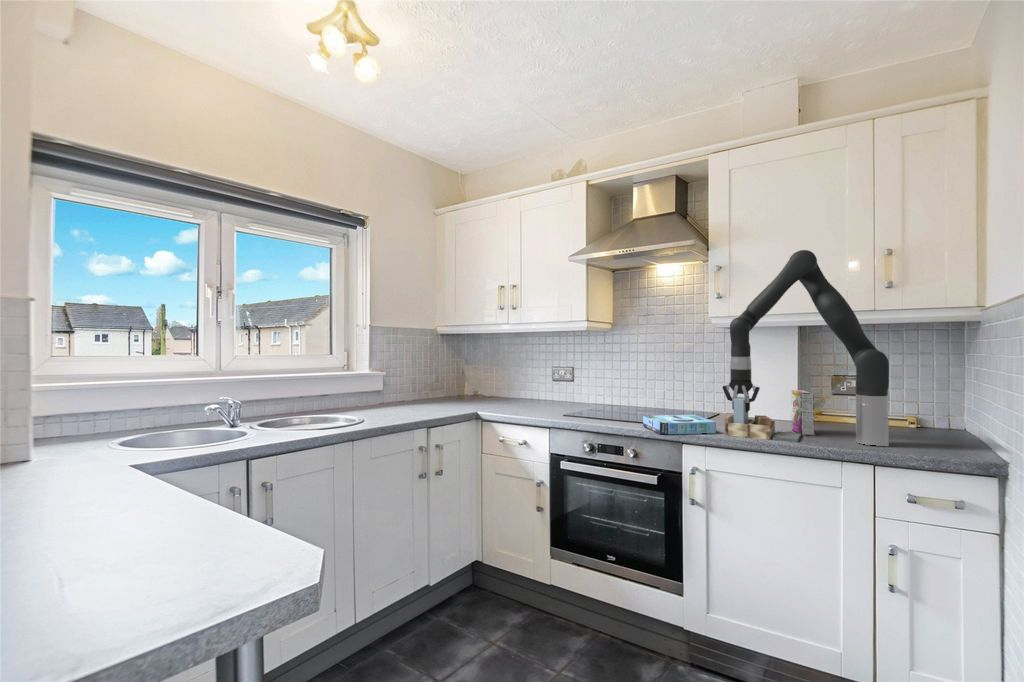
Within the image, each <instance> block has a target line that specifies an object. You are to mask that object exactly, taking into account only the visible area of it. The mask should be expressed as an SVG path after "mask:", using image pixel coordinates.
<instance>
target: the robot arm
mask: <svg viewBox="0 0 1024 682" xmlns="http://www.w3.org/2000/svg"><path fill="white" fill-rule="evenodd" d="M797 282H800V283H801V285H802V286H803V287H804V289H806V291H807V293H808V295H809V296H810V299H811V301H812V303H813V306H815V308H816V310H817V311H818V313H819V315H820V316H821V318H822V319H823V321H824V322H825V323H826V325H827V326H828V328H830V330H831V331H832V332H833V334H835V336H836V337H837V338H838V340H839V341H841V342H842V344H843V345H844V347H845V348H846V350H847V352H848V354H849V355H850V358H851V359H852V362H853V364H854V366H855V367H856V368H855V370H856V372H855V375H856V377H855V380H856V381H855V382H856V383H855V442H857V443H856V444H859V443H860V444H859V445H863V444H865V446H870V445H876V446H875V447H890V445H889V444H890V443H889V442H890V439H889V437H890V433H889V428H890V427H889V423H890V422H889V396H888V395H889V386H890V385H889V384H890V381H889V380H890V366H889V365H890V363H889V358H888V357H887V355H886V354H885V353H884V352H882V351H881V350H878V349H877V348H876V346H874V344H873V343H872V341H870V340H869V338H868V337H867V336H866V333H864V330H863V328H862V326H861V323H860V321H859V319H858V317H857V316H856V314H855V312H854V310H853V308H852V307H851V306H850V304H849V303H848V301H846V299H845V298H844V296H843V295H842V294H841V293H840V292H839V291H838V290H837V289H836V287H834V286H833V285H832V284H831V283H830V282H829V281H828V280H827V278H826V276H825V274H823V271H822V270H821V268H820V267H819V264H818V259H817V256H816V254H815V253H814V252H812V251H811V250H807V249H801V250H798V251H797V250H796V252H794V253H793V254H792V255H790V257H789V259H788V261H787V262H786V263H785V265H784V266H783V268H782V269H781V271H780V272H779V273H778V274H777V276H775V278H774V279H773V280H772V281H771V282H770V283H769V284H767V286H766V287H765V288H764V289H763V290H762V291H761V292H760V293H758V295H757V296H756V297H755V298H754V299H752V300H751V302H750V303H749V304H748V305H747V307H746V309H745V310H744V311H743V312H741V314H740V315H739V316H738V317H736V318H733V319H732V320H731V322H730V325H729V336H730V364H729V368H730V382H729V383H728V384H727V385H726V384H725V385H723V386H722V390H723V393H724V395H725V397H726V400H727V401H730V402H732V405H731V406H732V410H733V411H734V399H735V398H737V397H739V396H738V395H740V394H741V395H743V397H745V401H746V403H745V409H746V412H748V413H749V412H750V410H751V403H752V402H754V401H756V399H757V397H758V395H759V391H760V390H761V388H760V386H756V385H754V384H753V382H752V358H751V344H750V332H751V331H752V329H753V328H754V327H755V326H756V325H757V323H759V322H760V320H761V319H762V318H764V317H765V316H766V315H767V313H768V312H769V311H771V310H772V309H773V308H774V306H775V305H777V303H778V302H779V301H780V300H781V299H782V297H783V296H784V295H785V294H786V292H788V290H789V289H790V288H791V287H793V285H794V284H795V283H797ZM730 388H731V390H732V391H733V394H732V395H731V394H730V391H729V390H730ZM751 389H752V392H753V394H752V396H751V398H750V395H749V392H750V391H751Z"/></svg>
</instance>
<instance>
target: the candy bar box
mask: <svg viewBox="0 0 1024 682" xmlns="http://www.w3.org/2000/svg"><path fill="white" fill-rule="evenodd" d="M790 394H791V397H790V399H791V401H790V402H791V430H792V431H793V432H794V433H801V436H815V393H813V392H809V391H806V390H803V389H802V390H801V389H800V390H799V389H797V390H796V389H794V390H791V393H790Z"/></svg>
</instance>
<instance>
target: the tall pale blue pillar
mask: <svg viewBox="0 0 1024 682" xmlns="http://www.w3.org/2000/svg"><path fill="white" fill-rule="evenodd" d="M745 403H746V401H745V397H744V396H737V398H735V399H734V410H733V413H734V423H740V424H749V419H750V418H749V411H748V412H746V409H745Z"/></svg>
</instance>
